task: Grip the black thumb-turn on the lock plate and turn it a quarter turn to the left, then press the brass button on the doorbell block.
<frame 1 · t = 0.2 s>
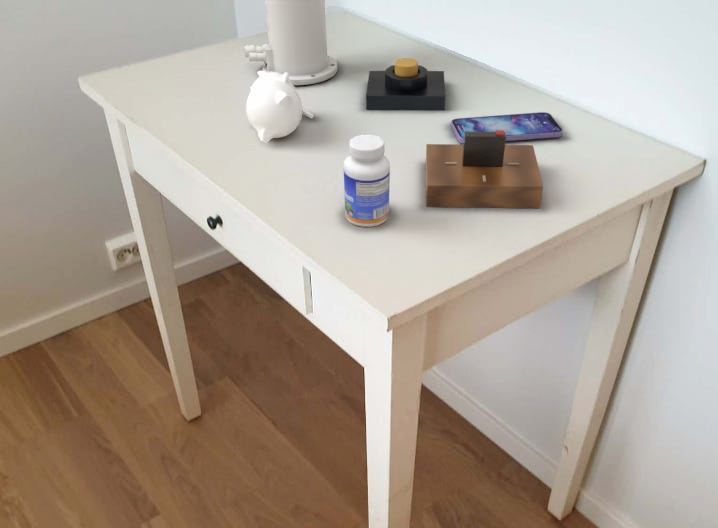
lock plate: (480, 185, 94), on the table
lock knob: (483, 148, 91), point 5 cm above the table, hinge at 0.0°
pill bottle: (367, 217, 89), on the table
smartphone: (505, 132, 105), on the table
bell button: (406, 68, 112), point 4 cm above the table, slide at 0.1 cm
cat figurine: (282, 130, 107), on the table
bell block: (405, 96, 115), on the table
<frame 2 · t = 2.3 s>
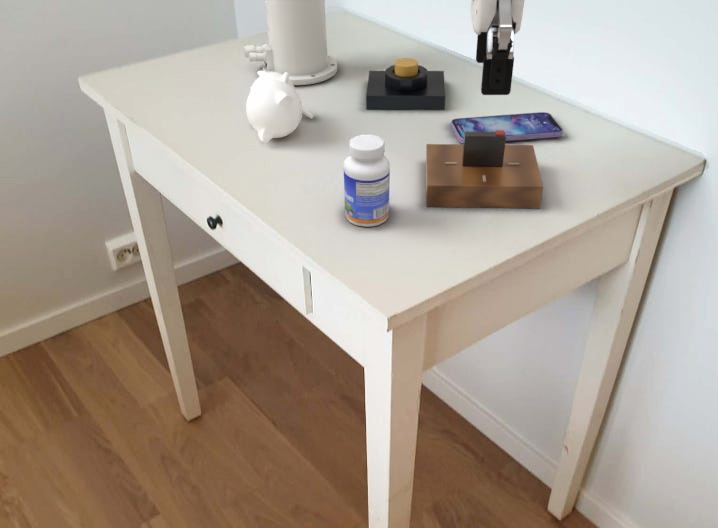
hand: (492, 77, 85), 14 cm above the table, tool pointing down, fingers open, 9 cm apart
nothing on the table moved.
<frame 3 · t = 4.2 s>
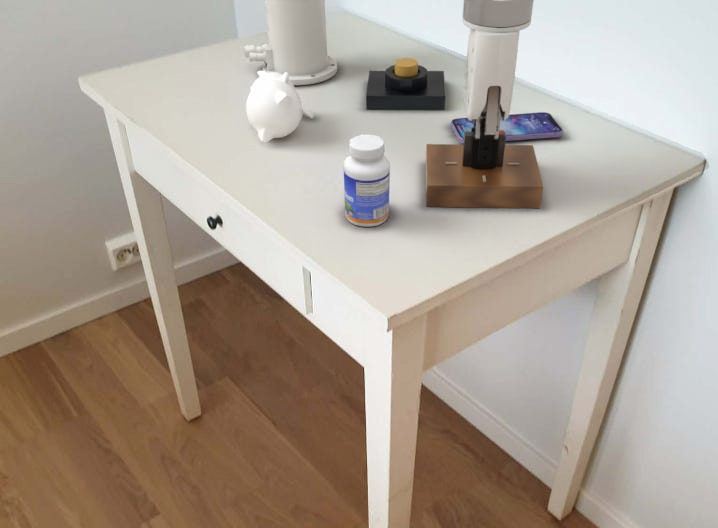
hand: (482, 161, 92), 3 cm above the table, tool pointing down, fingers closed
lock knob: (483, 148, 91), point 5 cm above the table, hinge at 0.0°, touching gripper
everything else where it was.
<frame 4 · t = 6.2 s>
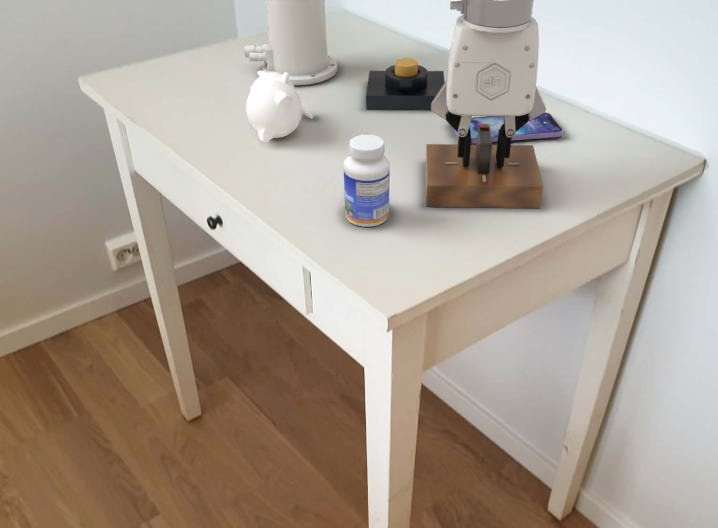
hand: (482, 160, 92), 3 cm above the table, tool pointing down, fingers open, 3 cm apart
lock knob: (483, 148, 91), point 5 cm above the table, hinge at 89.8°
everything else where it was.
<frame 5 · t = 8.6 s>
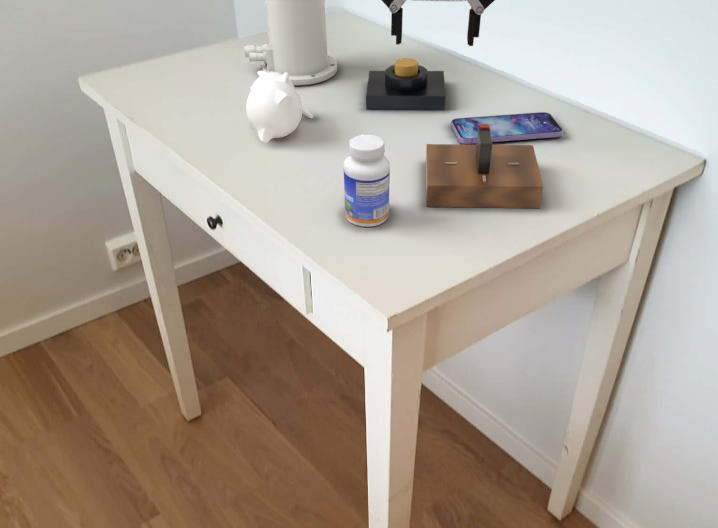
hand: (434, 41, 98), 12 cm above the table, tool pointing down, fingers open, 9 cm apart
nothing on the table moved.
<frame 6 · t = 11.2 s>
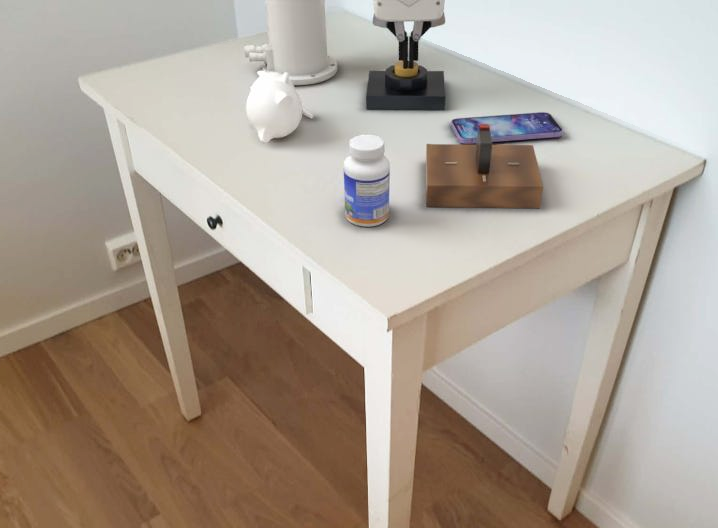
hand: (408, 64, 112), 5 cm above the table, tool pointing down, fingers closed
bell button: (406, 70, 112), point 4 cm above the table, slide at -0.3 cm, touching gripper
everything else where it was.
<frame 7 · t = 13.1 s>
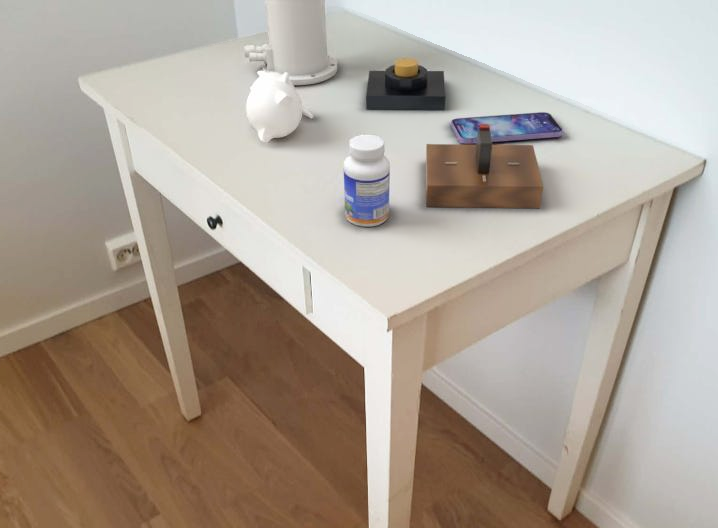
bell button: (406, 68, 112), point 4 cm above the table, slide at 0.1 cm
everything else where it was.
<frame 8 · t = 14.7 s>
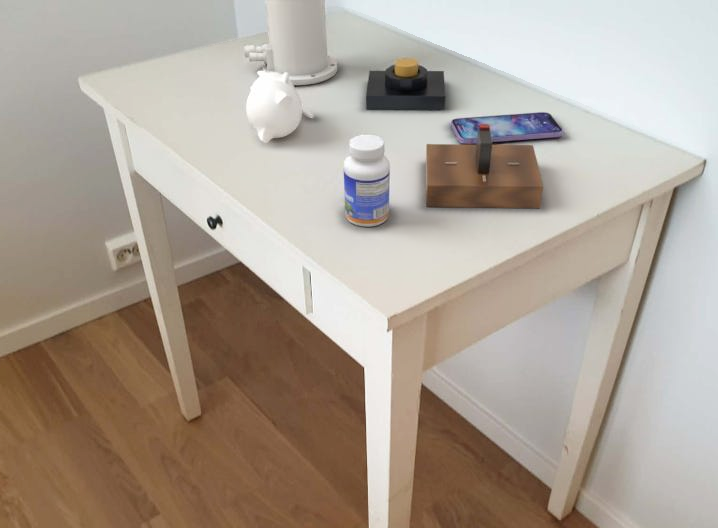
nothing on the table moved.
at the end: lock knob at +90° (first picture: +0°); bell button pushed in 1.0 cm at the most during the clip, back to where it started at the end; bell button slide at 0.1 cm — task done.
